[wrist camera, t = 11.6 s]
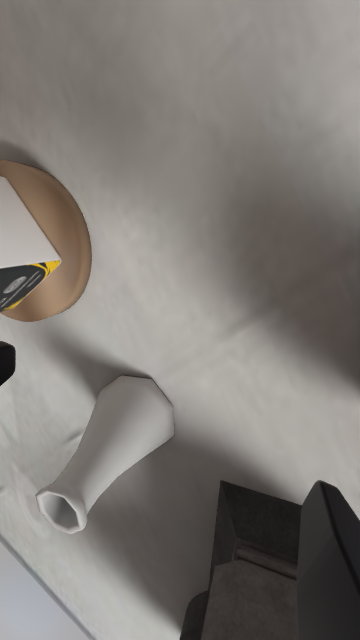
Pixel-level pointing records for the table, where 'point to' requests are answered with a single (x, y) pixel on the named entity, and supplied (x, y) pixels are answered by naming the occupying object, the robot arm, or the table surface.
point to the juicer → (249, 571)
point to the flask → (108, 449)
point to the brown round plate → (52, 241)
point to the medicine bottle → (21, 249)
